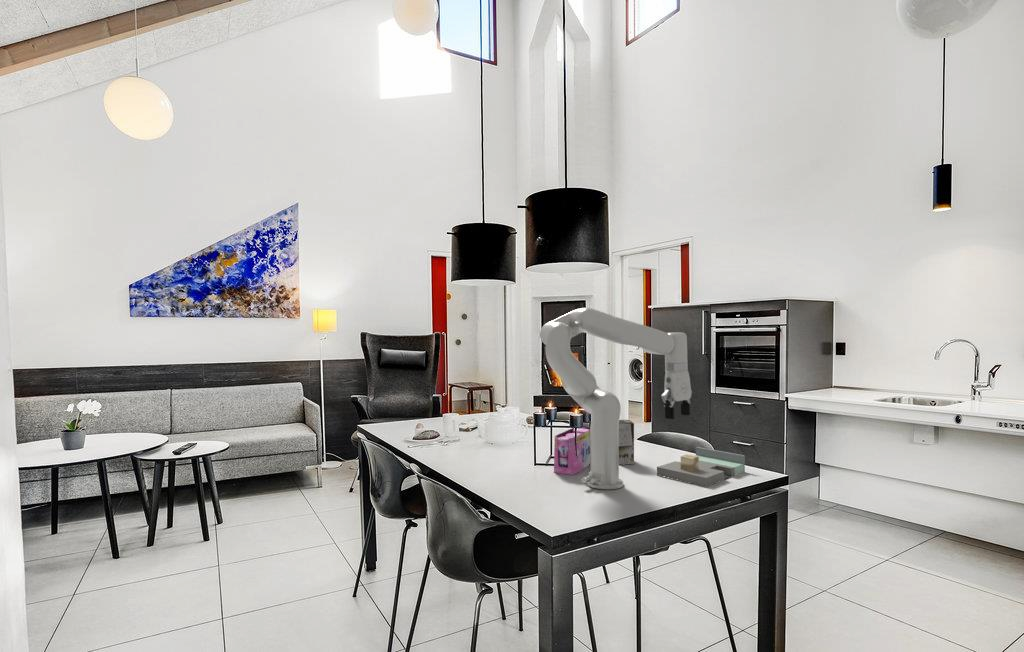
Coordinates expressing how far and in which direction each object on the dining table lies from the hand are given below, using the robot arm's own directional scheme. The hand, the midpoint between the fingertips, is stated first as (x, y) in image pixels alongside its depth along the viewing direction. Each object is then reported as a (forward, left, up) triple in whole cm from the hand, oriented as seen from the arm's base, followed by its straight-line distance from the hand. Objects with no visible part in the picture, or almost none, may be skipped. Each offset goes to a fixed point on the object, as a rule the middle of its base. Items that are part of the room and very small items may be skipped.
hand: (677, 416), depth 185 cm
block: (+6, -1, -19) cm, 20 cm away
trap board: (+14, -1, -22) cm, 26 cm away
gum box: (-13, +36, -22) cm, 44 cm away
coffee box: (+7, +28, -22) cm, 36 cm away
